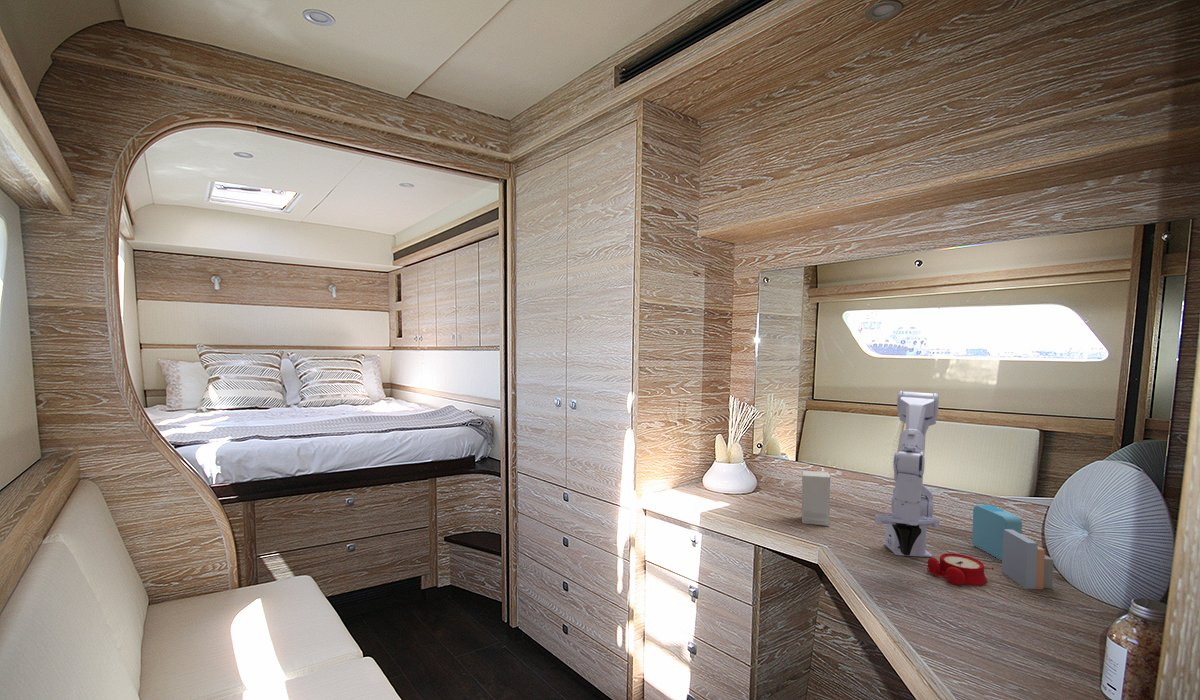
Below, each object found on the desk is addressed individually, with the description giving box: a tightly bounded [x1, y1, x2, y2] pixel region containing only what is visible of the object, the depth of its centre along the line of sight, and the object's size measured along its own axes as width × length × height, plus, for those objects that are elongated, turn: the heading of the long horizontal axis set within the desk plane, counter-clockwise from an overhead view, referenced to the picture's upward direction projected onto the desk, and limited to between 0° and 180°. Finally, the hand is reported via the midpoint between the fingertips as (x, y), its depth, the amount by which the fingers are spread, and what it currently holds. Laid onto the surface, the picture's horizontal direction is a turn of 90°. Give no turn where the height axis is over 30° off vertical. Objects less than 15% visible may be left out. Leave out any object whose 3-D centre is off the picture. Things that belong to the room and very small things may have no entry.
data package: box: [971, 504, 1023, 561], centre depth 150 cm, size 12×4×12 cm, turn 3°
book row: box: [1001, 529, 1054, 590], centre depth 134 cm, size 6×9×11 cm
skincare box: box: [801, 470, 831, 527], centre depth 172 cm, size 8×7×16 cm
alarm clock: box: [926, 552, 995, 587], centre depth 135 cm, size 10×6×15 cm
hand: (905, 553), depth 137 cm, fingers closed
